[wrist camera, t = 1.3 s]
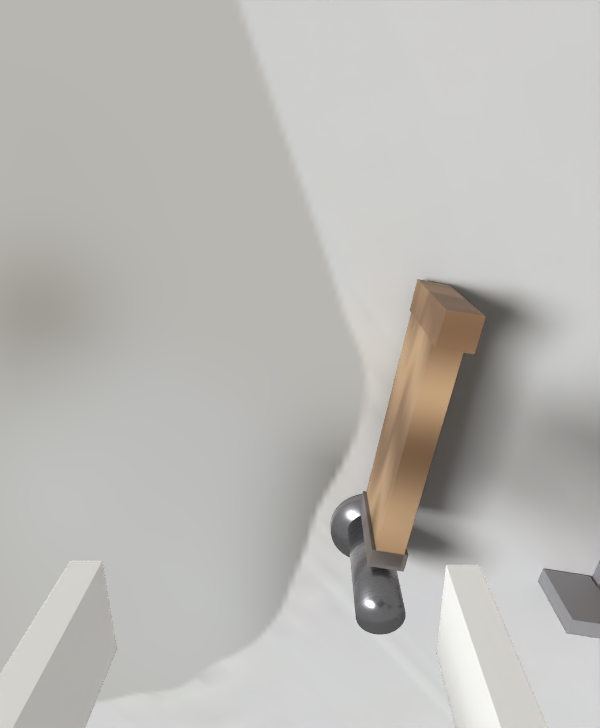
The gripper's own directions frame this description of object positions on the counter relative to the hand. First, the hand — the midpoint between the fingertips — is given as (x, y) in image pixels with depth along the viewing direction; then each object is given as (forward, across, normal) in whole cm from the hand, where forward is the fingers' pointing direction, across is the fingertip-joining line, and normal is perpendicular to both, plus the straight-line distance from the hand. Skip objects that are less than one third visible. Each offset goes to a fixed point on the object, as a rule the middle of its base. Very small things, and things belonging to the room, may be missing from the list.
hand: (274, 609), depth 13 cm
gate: (+16, +6, -2) cm, 18 cm away
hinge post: (+17, +4, -11) cm, 21 cm away
